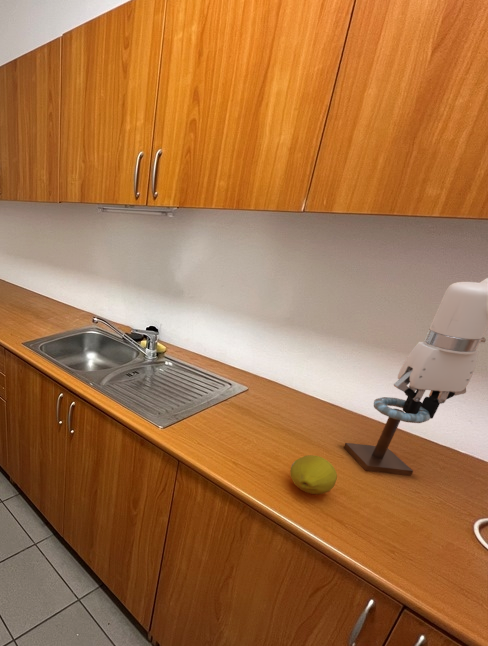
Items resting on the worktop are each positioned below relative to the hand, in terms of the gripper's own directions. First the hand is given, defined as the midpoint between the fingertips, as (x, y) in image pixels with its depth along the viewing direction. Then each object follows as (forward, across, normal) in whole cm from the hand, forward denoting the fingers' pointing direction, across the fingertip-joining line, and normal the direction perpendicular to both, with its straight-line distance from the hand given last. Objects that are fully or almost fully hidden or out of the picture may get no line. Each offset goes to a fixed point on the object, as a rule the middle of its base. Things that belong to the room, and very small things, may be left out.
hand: (417, 413), depth 91 cm
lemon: (+14, +25, +14) cm, 32 cm away
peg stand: (+14, +4, 0) cm, 15 cm away
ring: (-1, +3, 0) cm, 3 cm away
